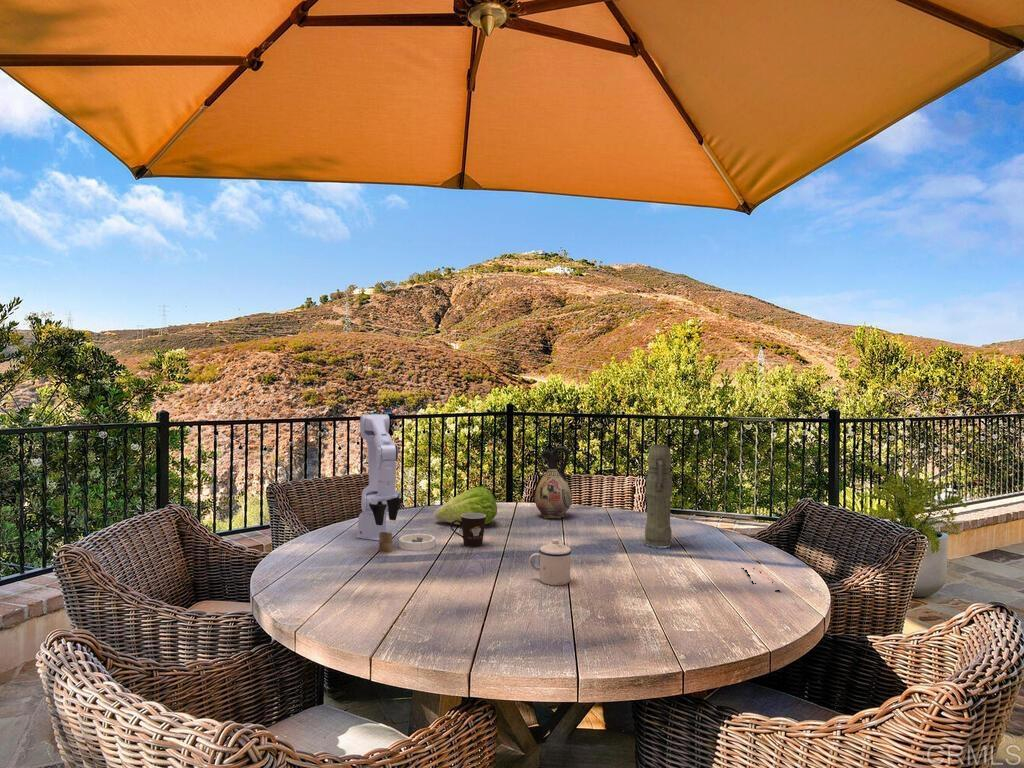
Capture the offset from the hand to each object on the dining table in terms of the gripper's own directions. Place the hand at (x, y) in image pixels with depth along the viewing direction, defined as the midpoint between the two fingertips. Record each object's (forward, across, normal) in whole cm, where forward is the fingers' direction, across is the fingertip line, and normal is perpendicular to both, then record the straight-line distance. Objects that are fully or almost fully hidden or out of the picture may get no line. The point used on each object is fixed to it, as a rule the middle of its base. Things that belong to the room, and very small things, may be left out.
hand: (386, 522), depth 193 cm
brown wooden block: (+9, 0, 0) cm, 9 cm away
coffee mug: (+10, +19, -21) cm, 30 cm away
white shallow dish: (+9, +10, -6) cm, 15 cm away
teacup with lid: (+10, -4, -58) cm, 59 cm away
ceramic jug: (+10, +72, -35) cm, 81 cm away
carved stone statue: (+10, +47, -81) cm, 94 cm away
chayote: (+10, +45, -7) cm, 47 cm away
